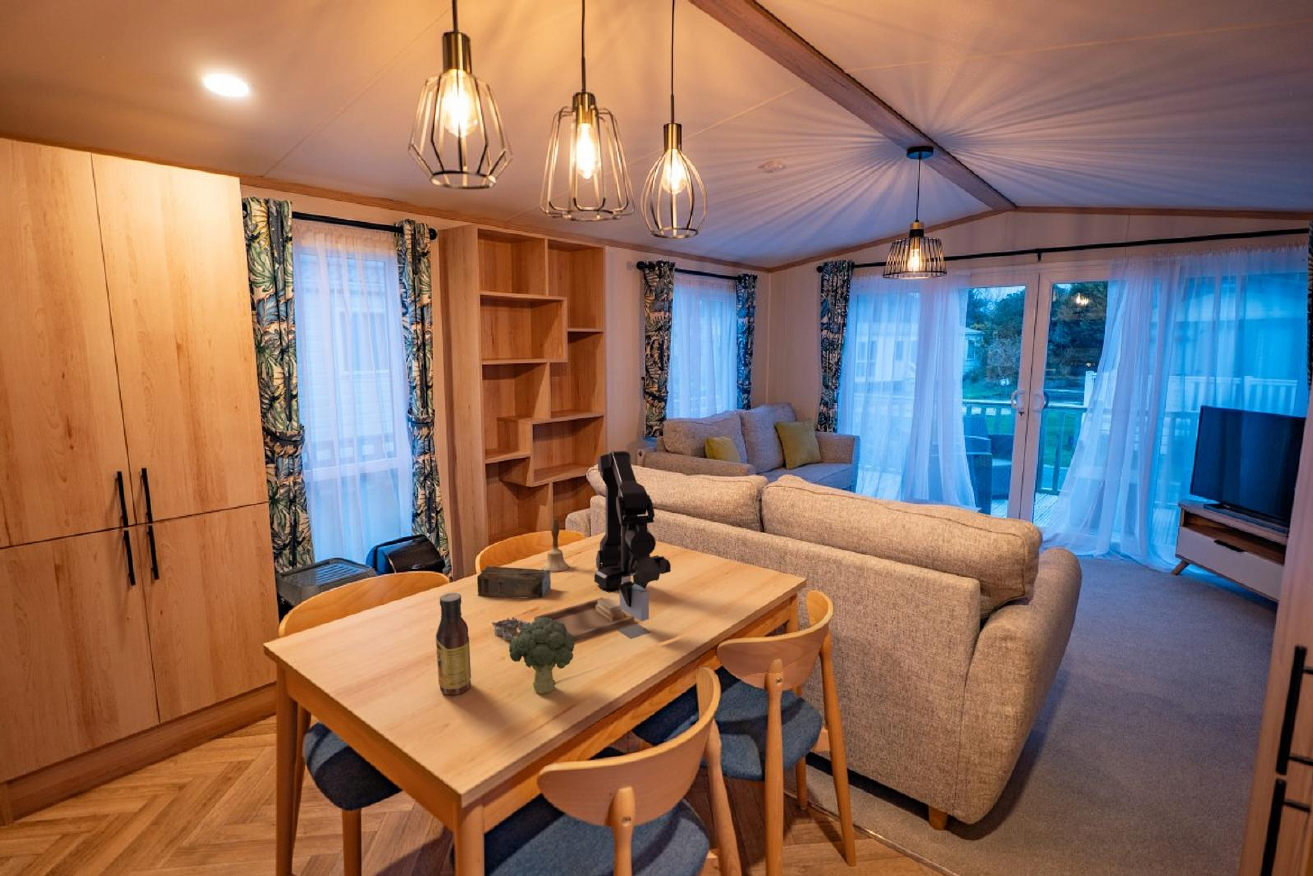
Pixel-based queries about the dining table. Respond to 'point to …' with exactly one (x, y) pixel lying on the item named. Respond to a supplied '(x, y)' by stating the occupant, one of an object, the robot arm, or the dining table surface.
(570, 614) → the tray
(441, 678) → the sauce bottle
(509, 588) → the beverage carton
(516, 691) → the dining table surface
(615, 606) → the offcut upper
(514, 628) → the grey lumpy clump
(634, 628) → the mat
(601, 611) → the offcut lower
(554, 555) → the hand bell
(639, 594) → the board
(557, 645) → the vegetable
